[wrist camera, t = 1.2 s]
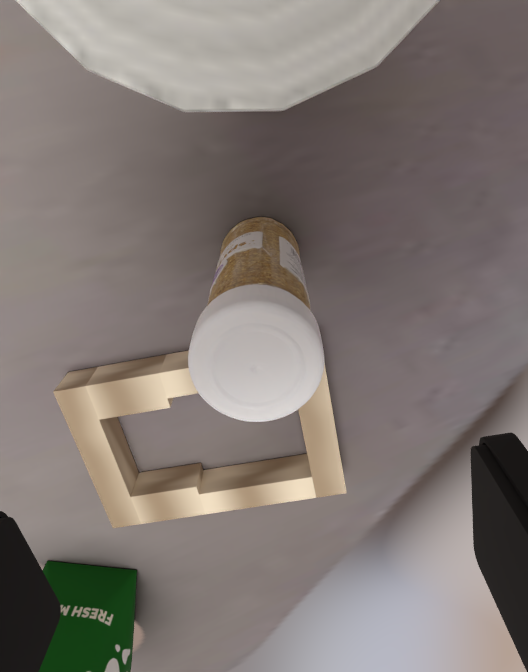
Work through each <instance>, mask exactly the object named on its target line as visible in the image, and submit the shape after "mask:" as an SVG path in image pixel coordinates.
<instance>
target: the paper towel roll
mask: <svg viewBox="0 0 528 672" xmlns="http://www.w3.org/2000/svg"><path fill="white" fill-rule="evenodd" d="M15 1H16V2H17V3H18V4H19V5H20V6H21V7H22V8H23V9H24V10H25V11H27V12H28V13H29V14H30V15H31V16H32V17H33V18H34V19H35V20H36V21H37V22H38V23H39V24H40V25H41V26H42V27H43V28H44V29H45V30H46V31H47V32H48V33H49V34H50V35H51V36H52V37H53V38H54V39H55V40H56V41H57V42H59V43H60V44H61V45H62V46H63V47H64V48H65V49H66V50H67V51H68V52H69V53H70V54H71V55H72V56H73V57H74V58H75V59H76V60H77V61H78V62H79V63H80V64H81V65H82V66H83V67H84V68H85V69H86V70H87V71H89V72H92V73H94V74H96V75H99V76H101V77H103V78H106V79H108V80H110V81H113V82H115V83H117V84H120V85H122V86H124V87H127V88H129V89H131V90H134V91H136V92H138V93H141V94H143V95H145V96H148V97H150V98H152V99H155V100H157V101H159V102H162V103H164V104H166V105H169V106H171V107H173V108H175V109H178V110H180V111H182V112H249V111H284V110H286V109H288V108H290V107H292V106H295V105H297V104H299V103H301V102H303V101H305V100H307V99H310V98H312V97H314V96H316V95H318V94H320V93H323V92H325V91H327V90H329V89H331V88H333V87H335V86H338V85H340V84H342V83H344V82H346V81H348V80H350V79H353V78H355V77H357V76H359V75H361V74H363V73H365V72H368V71H370V70H372V69H374V68H376V67H378V65H379V64H380V63H381V62H382V61H383V60H384V59H385V58H386V57H387V56H388V55H389V54H390V53H391V52H392V51H393V50H394V49H395V48H396V46H397V45H398V44H399V43H400V42H401V41H402V40H403V39H404V38H405V37H406V36H407V35H408V34H409V33H410V32H411V31H412V30H413V28H414V27H415V26H416V25H417V24H418V23H419V22H420V21H421V20H422V19H423V18H424V17H425V16H426V15H427V14H428V13H429V12H430V11H431V9H432V8H433V7H434V6H435V5H436V4H437V3H438V2H439V1H440V0H15Z"/></svg>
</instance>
